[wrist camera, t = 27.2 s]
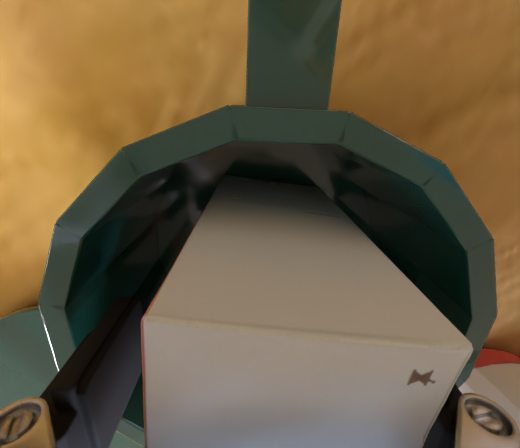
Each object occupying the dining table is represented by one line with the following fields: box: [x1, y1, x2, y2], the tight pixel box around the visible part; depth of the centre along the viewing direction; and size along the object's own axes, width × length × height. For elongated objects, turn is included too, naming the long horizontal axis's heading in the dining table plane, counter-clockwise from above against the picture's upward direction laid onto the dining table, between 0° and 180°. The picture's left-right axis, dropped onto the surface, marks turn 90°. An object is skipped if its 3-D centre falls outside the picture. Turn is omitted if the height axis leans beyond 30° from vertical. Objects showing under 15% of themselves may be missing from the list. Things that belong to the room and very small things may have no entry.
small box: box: [141, 175, 473, 448], centre depth 12 cm, size 8×6×13 cm
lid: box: [0, 306, 145, 448], centre depth 20 cm, size 17×17×6 cm
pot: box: [38, 0, 497, 447], centre depth 14 cm, size 16×22×10 cm
